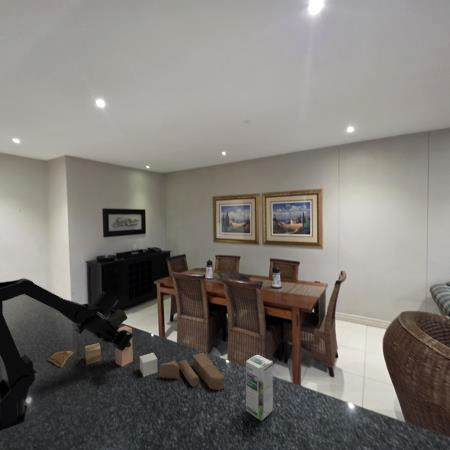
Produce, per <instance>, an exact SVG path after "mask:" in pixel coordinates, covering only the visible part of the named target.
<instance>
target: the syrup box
mask: <svg viewBox="0 0 450 450" xmlns="http://www.w3.org/2000/svg"><path fill="white" fill-rule="evenodd" d="M273 362H274V361H273V360H271V359H268V358H265V357H264V356H262V355H259V354H256V355H253V356H252V357H250V358H249V359H247V360H246V361H245V381H246V382H245V384H246V385H245V390H246V391H245V392H246V393H245V399H246V400H245V401H246V403H245V404H246V405H245V406H246V407H245V410H246V412H248V413H249V414H250V415H252V416H254V417H255V418H256V419H258V420H259V421H261V422H262V421H263V420H264V419H265V418H267V416H269V415H270V413H272V412H273V410H274V401H273V400H274V397H273V395H274V393H273V392H274V380H273V379H274V377H273V375H274V372H273V370H274V363H273Z"/></svg>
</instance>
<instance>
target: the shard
mask: <svg viewBox="0 0 450 450" xmlns="http://www.w3.org/2000/svg"><path fill="white" fill-rule="evenodd" d="M73 353H74V352H73V351H70V350H64V351H57V352H55V353H54V354H53V355H51V356H50V357H48V358H47V360H48V362H52V363H53V364H54V365H55V366H57V367H59V368H63V367H64V365H65V363H66V362H67V361H68V359H69V358H70V357H71V356H72V355H73Z"/></svg>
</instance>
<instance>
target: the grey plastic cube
mask: <svg viewBox="0 0 450 450" xmlns="http://www.w3.org/2000/svg"><path fill="white" fill-rule="evenodd" d="M139 371H140V372H141V375H142V376H143V377H148V376H149V375H153V374H155V373H158V372H159V371H158V358H157V356H156V355H155V353H154V352H151V353H147V354H144V355H140V356H139Z"/></svg>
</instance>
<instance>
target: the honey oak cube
mask: <svg viewBox="0 0 450 450" xmlns="http://www.w3.org/2000/svg"><path fill="white" fill-rule="evenodd" d="M84 347H85V349H84V351H85V352H84V353H85V363H86V365H90V364H93V363H97V362H100V361H102V353H101V352H102V351H101V350H102V349H101V345H100V342H98V343H93V344H90V345H86V346H84Z"/></svg>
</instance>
